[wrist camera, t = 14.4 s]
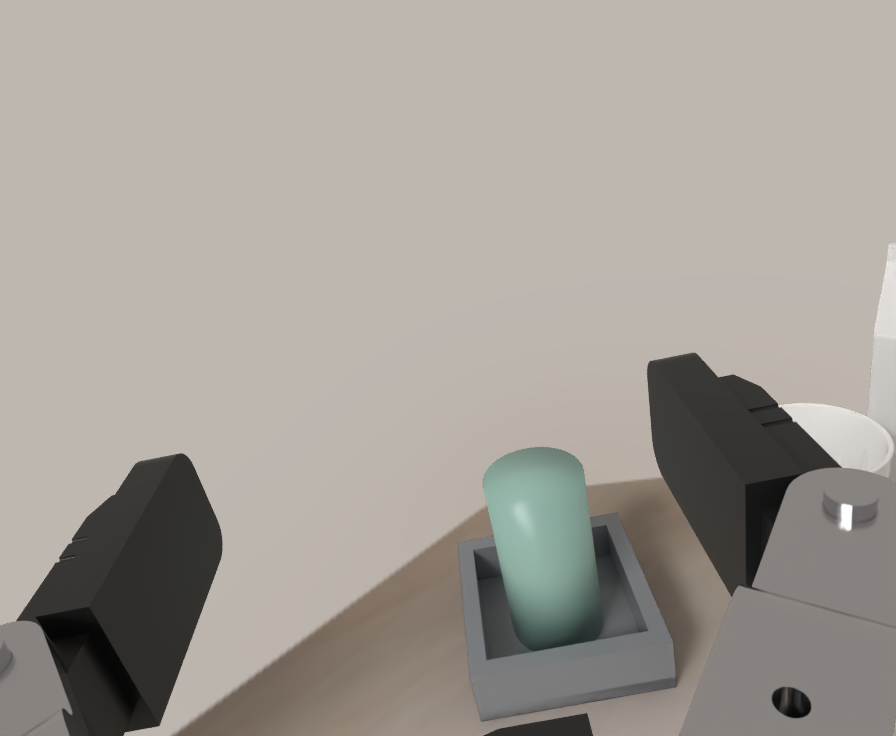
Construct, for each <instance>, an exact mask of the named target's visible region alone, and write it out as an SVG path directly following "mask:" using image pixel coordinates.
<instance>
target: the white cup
mask: <svg viewBox="0 0 896 736" xmlns="http://www.w3.org/2000/svg"><path fill="white" fill-rule="evenodd" d="M778 406H779V407H782V408H783V409H784V410H785V411H786V412H787V413H788V414H789V415H790V416H791V417H792V420H793V422H797V423H798V424H799V425H800V426H801V427H802V428H803V429H804V430H805V431H806V432H807V433H808V434H809V435H810V436H811V437H812V438H813V439H814V440H815V441H816V442H817V443H818V444H819V445H820V446H821V447H822V448H823V449H824V450H825V451H826V452H827V453H828V454H829V455H830V456H831V457H832V458H833V459H834V460H835V461H836V462H837V463H838V464H839V465H840V466H841V467H842V468H852V469H859V470H864V471H868V472H872V473H875V474H878V475H881V476H884V477H886V478H888V479H889V476H890V470H891V464H892V459H893V453H894V443H893V440H892V437H891V436H890V434H889V433H888V431H887V430H886V429H885V428H884V427H883V426H881V425H880V424H879V423H877V422H876V421H874V420H873V419H871V418H869V417H867V416H865V415H863V414H861V413H858V412H856V411H853V410H850V409H846V408H843V407H838V406H833V405H828V404H818V403H790V404H782V405H778Z"/></svg>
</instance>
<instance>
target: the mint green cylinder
mask: <svg viewBox="0 0 896 736" xmlns="http://www.w3.org/2000/svg"><path fill="white" fill-rule="evenodd" d="M483 488H484V493H485V498H486V502H487V507H488V512H489V516H490V521H491V526H492V530H493V535H494V540H495V544H496V549H497V554H498V558H499V563H500V567H501V572H502V577H503V581H504V586H505V591H506V595H507V600H508V605H509V609H510V614H511V619H512V623H513V628H514V631H515V634H516V636H517V638H518V639H519V641H520V642H521V643H522V644H523V645H524V646H525V647H527V648H528V649H530V650H531V651H533V652H535V651H540V650H546V649H551V648H557V647H562V646H568V645H574V644H579V643H585V642H590V641H595V640H596V639H597V638H598V636H599V634H600V632H601V630H602V627H603V611H602V603H601V596H600V588H599V581H598V573H597V566H596V558H595V551H594V543H593V536H592V528H591V521H590V513H589V506H588V498H587V491H586V484H585V477H584V470H583V466H582V464H581V463H580V462H579V460H578V459H577V458H576V457H575V456H573V455H571V454H570V453H568V452H566V451H563V450H559V449H555V448H547V447H535V448H527V449H522V450H518V451H515V452H512V453H509V454H507V455H505V456H503V457H502V458H500V459H498V460H497V461H495V462H494V463H493V464H492V465H491V466H490V467H489V468H488V470H487V471H486V473H485V475H484V478H483Z"/></svg>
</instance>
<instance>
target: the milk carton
mask: <svg viewBox="0 0 896 736" xmlns="http://www.w3.org/2000/svg"><path fill="white" fill-rule="evenodd" d="M867 417H869V418H871V419H873V420H874V421H876V422H877V423H879V424H880V425H881V426H883V427H884V428H885V429H886V430H887V431H888V433H889V434H890V436H891V437H892V440H893V443H894V453H893V459H892V464H891V470H890V476H889V479H890V480H892V481H894V482H896V243H890V244H889V245H888V255H887V264H886V269H885V275H884V280H883V286H882V291H881V297H880V302H879V308H878V313H877V319H876V324H875V329H874V338H873V350H872V362H871V374H870V385H869V397H868V409H867Z"/></svg>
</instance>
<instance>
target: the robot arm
mask: <svg viewBox="0 0 896 736" xmlns="http://www.w3.org/2000/svg"><path fill="white" fill-rule="evenodd" d="M647 377H648V390H649V402H650V403H649V404H650V416H651V427H652V428H651V429H652V441H653V447H654V453H655V457H656V460H657V463H658V467H659V469H660V472H661V474H662V476H663V478H664V480H665V482H666V483H667V485H668V487H669V488H670V490H671V492H672V494H673V495H674V497H675V499H676V501H677V502H678V504H679V506H680V508H681V509H682V511H683V513H684V515H685V516H686V518H687V520H688V522H689V523H690V525H691V527H692V529H693V530H694V532H695V534H696V536H697V537H698V539H699V541H700V543H701V544H702V546H703V548H704V550H705V551H706V553H707V555H708V557H709V558H710V560H711V562H712V563H713V565H714V567H715V569H716V570H717V572H718V574H719V576H720V577H721V579H722V581H723V583H724V584H725V586H726V588H727V590H728V591H729V593H730V595H731V597H732V599H731V601H730V604H729V606H728V609H727V611H726V614H725V617H724V619H723V622H722V624H721V627H720V630H719V632H718V635H717V638H716V640H715V643H714V645H713V648H712V651H711V653H710V656H709V658H708V661H707V664H706V666H705V669H704V671H703V674H702V677H701V679H700V682H699V685H698V687H697V690H696V692H695V695H694V698H693V700H692V703H691V705H690V708H689V711H688V713H687V716H686V718H685V721H684V724H683V726H682V729H681V732H680V734H679V736H893V732H894V724H895V716H896V482H894V481H892V480H890V479H888V478H886V477H884V476H881V475H878V474H875V473H872V472H868V471H864V470H859V469H852V468H842V467H841V466H840V465H839V464H838V463H837V462H836V461H835V460H834V459H833V458H832V457H831V456H830V455H829V454H828V453H827V452H826V451H825V450H824V449H823V448H822V447H821V446H820V445H819V444H818V443H817V442H816V441H815V440H814V439H813V438H812V437H811V436H810V435H809V434H808V433H807V432H806V431H805V430H804V429H803V428H802V427H801V426H800V425H799V424H798V423H797V422H793V420H792V417H791V416H790V415H789V414H788V413H787V412H786V411H785V410H784V409H783V408H782V407H779V406H778V403H777V402H776V401H775V400H774V399H773V398H772V397H771V396H770V395H769V394H768V393H767V392H766V391H765V390H764V389H763V388H762V387H760V386H758V385H756V384H754V383H751V382H749V381H747V380H744V379H742V378H740V377H737V376H736V375H729V376H724V377H719V378H718V377H717V376H716V374H715V373H714V372H713V371H712V370H711V369H710V368H709V367H708V366H707V364H706V363H705V362H704V361H703V360H702V359H701V358H700V357H699V356H698V355H697V354H696V353H689V354H684V355H679V356H674V357H669V358H664V359H659V360H654V361H650V362H649V364H648V369H647ZM221 556H222V535H221V529H220V526H219V523H218V520H217V518H216V516H215V514H214V511H213V509H212V507H211V505H210V502H209V500H208V498H207V496H206V493H205V491H204V489H203V486H202V484H201V482H200V480H199V477H198V475H197V473H196V470H195V468H194V466H193V464H192V462H191V461H190V459H189V458H188V457H187V456H186V455H184V454H175V455H170V456H165V457H160V458H155V459H150V460H145V461H140V462H138V463H136V464H135V465H134V467H133V468H132V470H131V471H130V473H129V474H128V476H127V477H126V479H125V480H124V482H123V484H122V485H121V486H120V488H119V490H118V491H117V493H116V494H115V495H113V496H111V497H110V498H108V499H107V500H106V501H105V502H104V503H103V504H102V505H100V506H99V507H98V508H97V509H96V510H95V511H93V512H92V513H91V514H90V515H89V516H88V517H87V518H86V519H85V521H84V522H83V524H82V525H81V527H80V528H79V530H78V531H77V532H76V534H75V535H74V537H73V538H72V543H71V544H69V545H68V546H67V547H66V549H65V550H64V552H63V553H62V555H61V556H60V557H59V559H60V562H58V563H55V565H54V566H53V568H52V569H51V571H50V572H49V574H48V575H47V577H46V578H45V579H44V581H43V582H42V584H41V585H40V587H39V588H38V590H37V591H36V593H35V594H34V596H33V597H32V599H31V600H30V602H29V603H28V604H27V606H26V607H25V609H24V610H23V612H22V613H21V615H20V616H19V618H18V619H17V621H16V622H11V623H7V624H4V625H1V626H0V736H123V735H124V733H125V732H129V731H135V730H140V729H145V728H151V727H157V726H159V725H160V723H161V720H162V717H163V715H164V712H165V709H166V706H167V704H168V701H169V698H170V696H171V693H172V690H173V687H174V685H175V682H176V679H177V677H178V674H179V671H180V669H181V666H182V663H183V660H184V658H185V655H186V652H187V650H188V647H189V644H190V641H191V639H192V636H193V633H194V630H195V628H196V625H197V622H198V619H199V617H200V614H201V612H202V609H203V606H204V603H205V601H206V598H207V595H208V593H209V590H210V587H211V584H212V582H213V579H214V576H215V574H216V571H217V568H218V565H219V563H220V560H221ZM484 736H593V734H592V730H591V726H590V722H589V718H588V715H587V713H586V714H580V715H575V716H569V717H563V718H558V719H552V720H546V721H541V722H535V723H529V724H524V725H518V726H512V727H507V728H501V729H498V730H495V731H493V732H491V733H488V734H486V735H484Z"/></svg>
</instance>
